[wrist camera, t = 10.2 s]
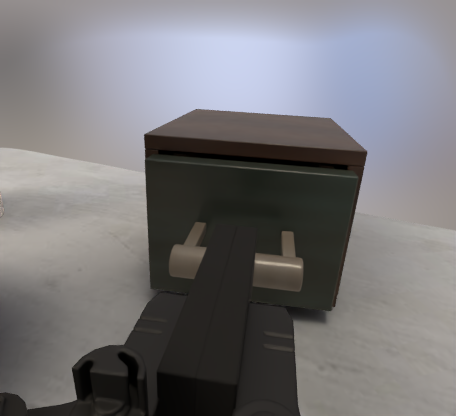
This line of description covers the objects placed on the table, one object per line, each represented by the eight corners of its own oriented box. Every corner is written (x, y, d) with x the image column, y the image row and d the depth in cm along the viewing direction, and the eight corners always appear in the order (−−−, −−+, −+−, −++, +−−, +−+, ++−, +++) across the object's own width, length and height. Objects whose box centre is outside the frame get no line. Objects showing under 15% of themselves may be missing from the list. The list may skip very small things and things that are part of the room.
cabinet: (335, 307, 21) (367, 151, 17) (150, 284, 22) (143, 134, 18) (314, 221, 32) (331, 118, 29) (194, 210, 33) (195, 109, 30)
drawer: (345, 374, 15) (385, 211, 12) (119, 341, 16) (104, 185, 13) (312, 225, 29) (326, 134, 26) (194, 213, 30) (195, 124, 27)
